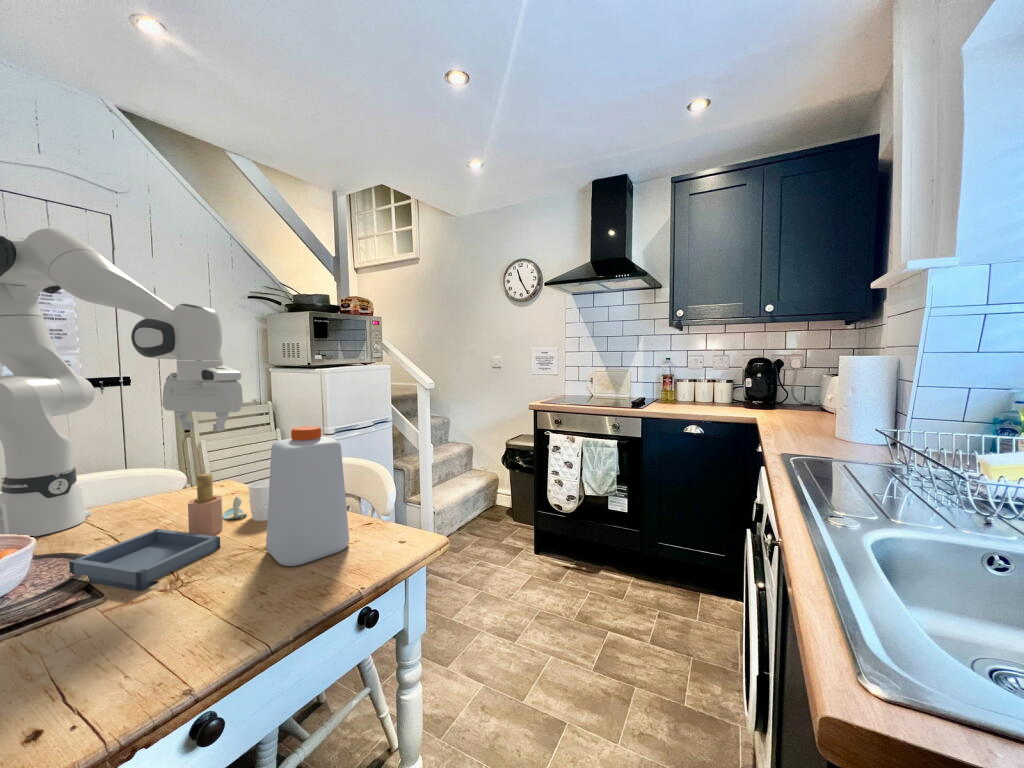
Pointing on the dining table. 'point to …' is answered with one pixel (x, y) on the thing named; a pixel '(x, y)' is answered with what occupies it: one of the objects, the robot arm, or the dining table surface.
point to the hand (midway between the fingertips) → (203, 430)
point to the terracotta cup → (205, 516)
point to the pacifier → (234, 510)
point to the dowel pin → (204, 488)
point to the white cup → (259, 499)
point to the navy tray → (143, 558)
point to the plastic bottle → (306, 498)
